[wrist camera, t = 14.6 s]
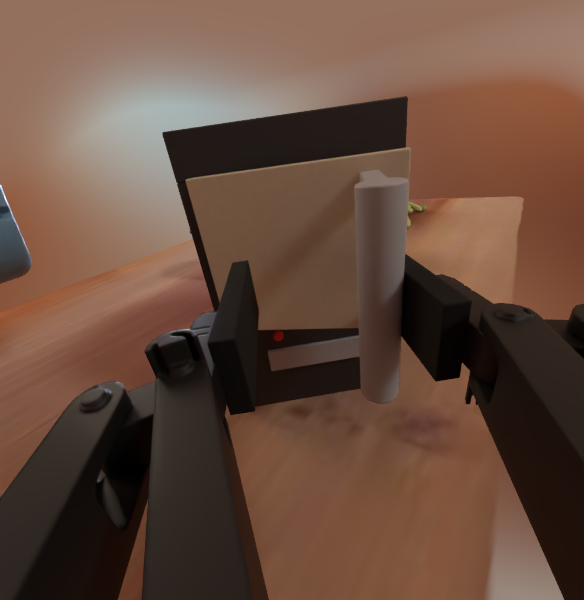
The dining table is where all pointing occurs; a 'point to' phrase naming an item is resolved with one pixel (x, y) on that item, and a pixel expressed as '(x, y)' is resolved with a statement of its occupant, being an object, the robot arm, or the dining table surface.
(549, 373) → the robot arm
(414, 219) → the dining table surface
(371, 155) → the chamber door
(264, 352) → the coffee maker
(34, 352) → the dining table surface
